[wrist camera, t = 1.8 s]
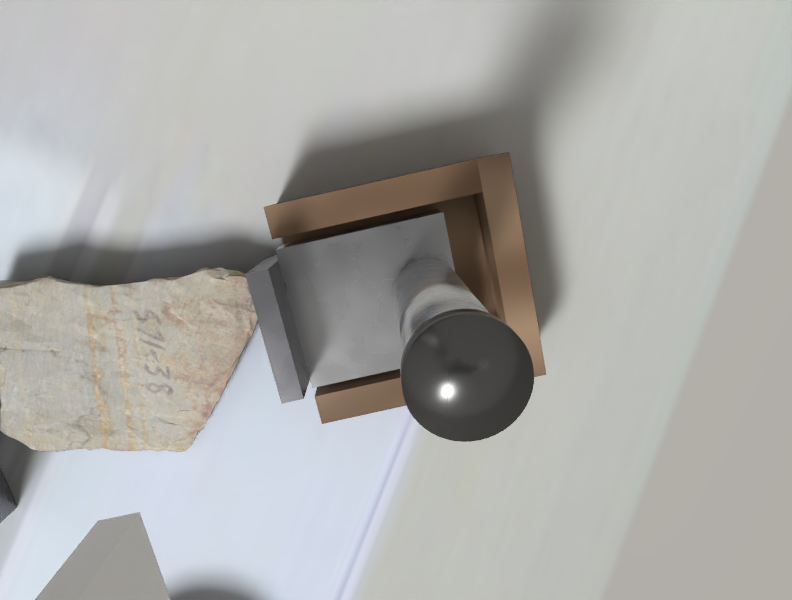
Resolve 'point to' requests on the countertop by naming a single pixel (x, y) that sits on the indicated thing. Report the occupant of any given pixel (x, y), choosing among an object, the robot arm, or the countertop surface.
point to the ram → (391, 325)
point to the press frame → (469, 241)
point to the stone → (119, 359)
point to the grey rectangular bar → (5, 499)
